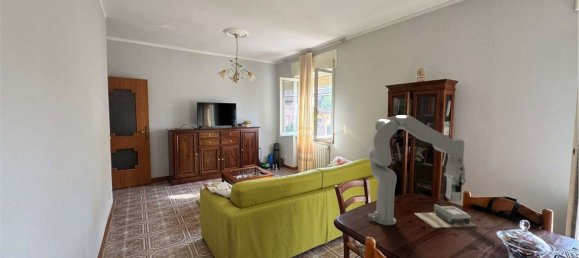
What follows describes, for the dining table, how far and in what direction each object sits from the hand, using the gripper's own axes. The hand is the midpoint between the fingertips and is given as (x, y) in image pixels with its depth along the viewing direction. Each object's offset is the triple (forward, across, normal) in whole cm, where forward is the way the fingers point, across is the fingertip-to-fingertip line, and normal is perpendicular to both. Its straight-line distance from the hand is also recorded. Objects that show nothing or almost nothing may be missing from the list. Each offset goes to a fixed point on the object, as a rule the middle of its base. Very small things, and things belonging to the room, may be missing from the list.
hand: (453, 189), depth 142 cm
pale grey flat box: (+18, 0, 0) cm, 18 cm away
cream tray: (+18, 0, +5) cm, 19 cm away
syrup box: (+6, 0, 0) cm, 6 cm away
